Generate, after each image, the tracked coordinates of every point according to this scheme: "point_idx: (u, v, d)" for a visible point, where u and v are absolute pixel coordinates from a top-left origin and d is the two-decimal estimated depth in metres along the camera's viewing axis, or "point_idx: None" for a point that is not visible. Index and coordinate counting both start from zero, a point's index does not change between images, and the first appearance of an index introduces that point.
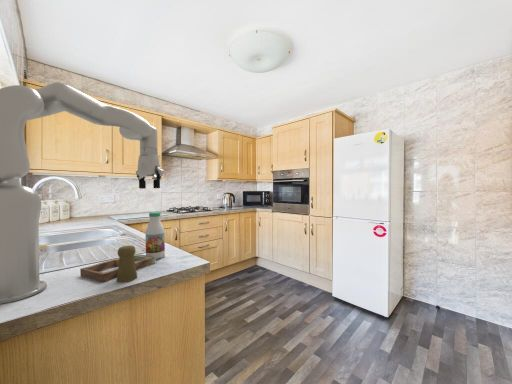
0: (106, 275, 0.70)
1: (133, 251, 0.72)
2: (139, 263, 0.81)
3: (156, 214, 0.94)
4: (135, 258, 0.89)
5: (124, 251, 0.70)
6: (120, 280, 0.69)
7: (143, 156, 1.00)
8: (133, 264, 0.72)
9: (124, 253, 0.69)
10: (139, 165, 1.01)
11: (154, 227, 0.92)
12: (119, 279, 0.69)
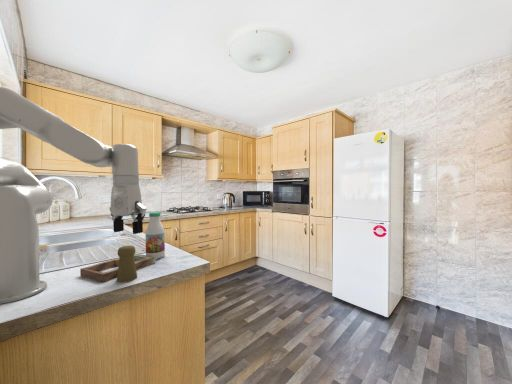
0: (106, 275, 0.70)
1: (133, 251, 0.72)
2: (139, 263, 0.81)
3: (156, 214, 0.94)
4: (135, 258, 0.89)
5: (124, 251, 0.70)
6: (120, 280, 0.69)
7: (117, 188, 0.70)
8: (133, 264, 0.72)
9: (124, 253, 0.69)
10: (112, 200, 0.71)
11: (154, 227, 0.92)
12: (119, 279, 0.69)
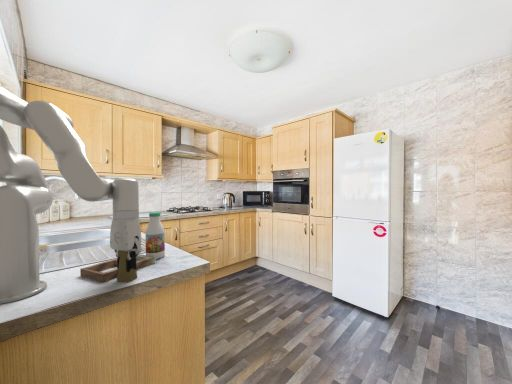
0: (106, 275, 0.70)
1: (133, 251, 0.72)
2: (139, 263, 0.81)
3: (156, 214, 0.94)
4: None
5: (124, 251, 0.70)
6: (120, 280, 0.69)
7: (117, 222, 0.70)
8: None
9: (124, 253, 0.69)
10: (112, 234, 0.71)
11: (154, 227, 0.92)
12: (119, 279, 0.69)
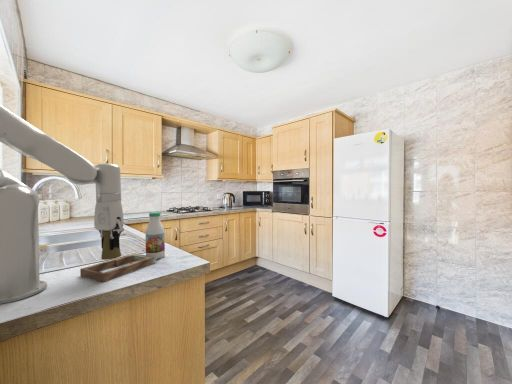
0: (106, 275, 0.70)
1: None
2: (139, 263, 0.81)
3: (156, 214, 0.94)
4: (135, 258, 0.89)
5: None
6: (104, 257, 0.75)
7: (100, 205, 0.75)
8: None
9: (107, 233, 0.75)
10: (96, 216, 0.76)
11: (154, 227, 0.92)
12: (103, 256, 0.75)
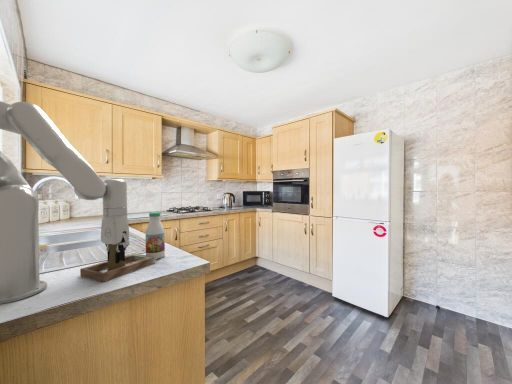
0: (106, 275, 0.70)
1: None
2: (139, 263, 0.81)
3: (156, 214, 0.94)
4: (135, 258, 0.89)
5: None
6: None
7: (107, 219, 0.77)
8: None
9: (113, 247, 0.77)
10: (102, 229, 0.78)
11: (154, 227, 0.92)
12: (109, 270, 0.77)
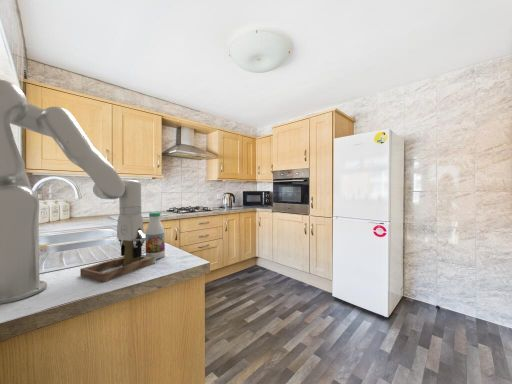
0: (106, 275, 0.70)
1: (136, 242, 0.85)
2: (139, 263, 0.81)
3: (156, 214, 0.94)
4: None
5: (129, 241, 0.83)
6: None
7: (123, 217, 0.83)
8: None
9: (129, 243, 0.82)
10: (119, 227, 0.84)
11: (154, 227, 0.92)
12: None
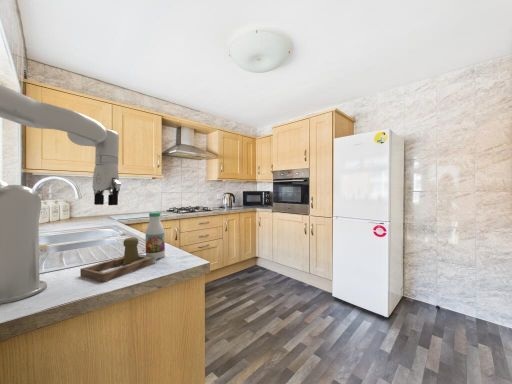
0: (106, 275, 0.70)
1: (136, 242, 0.85)
2: (139, 263, 0.81)
3: (156, 214, 0.94)
4: None
5: (129, 241, 0.83)
6: None
7: (98, 166, 0.82)
8: (136, 253, 0.85)
9: (129, 243, 0.82)
10: (94, 177, 0.83)
11: (154, 227, 0.92)
12: None
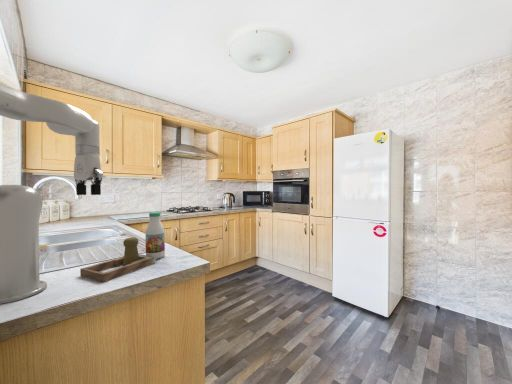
0: (106, 275, 0.70)
1: (136, 242, 0.85)
2: (139, 263, 0.81)
3: (156, 214, 0.94)
4: None
5: (129, 241, 0.83)
6: None
7: (79, 156, 0.82)
8: (136, 253, 0.85)
9: (129, 243, 0.82)
10: (75, 167, 0.83)
11: (154, 227, 0.92)
12: None
